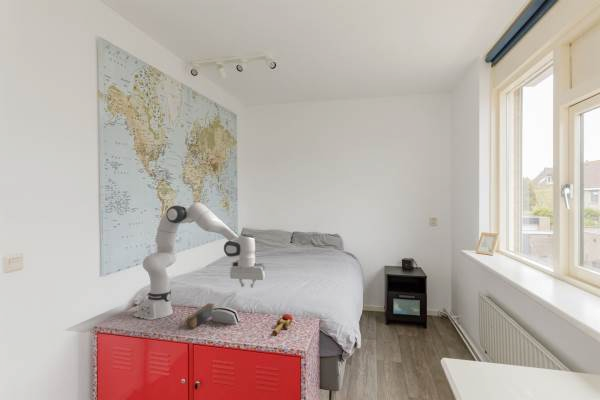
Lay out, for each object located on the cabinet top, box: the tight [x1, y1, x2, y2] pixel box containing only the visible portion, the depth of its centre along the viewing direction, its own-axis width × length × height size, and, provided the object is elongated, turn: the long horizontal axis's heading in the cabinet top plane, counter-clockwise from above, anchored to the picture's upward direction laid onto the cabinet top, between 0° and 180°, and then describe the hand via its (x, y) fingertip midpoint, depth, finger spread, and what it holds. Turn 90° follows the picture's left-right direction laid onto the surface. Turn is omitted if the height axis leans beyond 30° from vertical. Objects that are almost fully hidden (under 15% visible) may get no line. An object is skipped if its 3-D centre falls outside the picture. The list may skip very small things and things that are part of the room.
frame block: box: [185, 303, 215, 330], centre depth 176 cm, size 4×24×6 cm, turn 168°
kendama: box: [272, 313, 293, 336], centre depth 165 cm, size 8×6×18 cm
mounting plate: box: [196, 303, 213, 328], centre depth 176 cm, size 1×16×7 cm, turn 169°
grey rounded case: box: [211, 306, 241, 326], centre depth 174 cm, size 17×5×10 cm, turn 71°
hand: (247, 286), depth 172 cm, fingers open, 4 cm apart
